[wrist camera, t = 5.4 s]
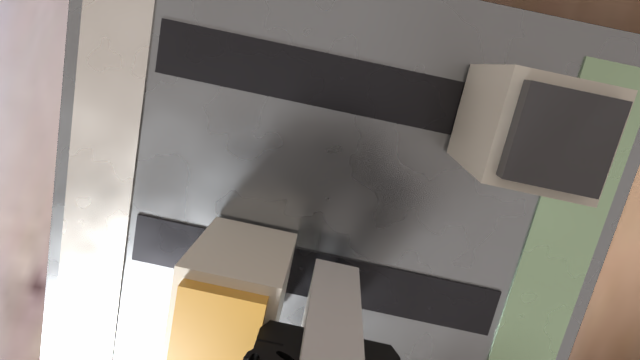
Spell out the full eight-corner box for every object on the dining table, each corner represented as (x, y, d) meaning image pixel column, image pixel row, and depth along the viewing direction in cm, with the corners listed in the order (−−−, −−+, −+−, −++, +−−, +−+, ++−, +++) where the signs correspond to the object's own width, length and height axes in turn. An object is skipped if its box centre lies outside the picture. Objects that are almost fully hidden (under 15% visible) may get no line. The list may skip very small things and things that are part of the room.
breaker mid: (203, 291, 19) (154, 371, 14) (216, 216, 18) (168, 273, 13) (282, 308, 19) (259, 394, 14) (297, 233, 18) (279, 297, 13)
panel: (52, 426, 22) (31, 452, 21) (98, -73, 18) (74, -86, 16) (487, 519, 22) (498, 553, 21) (655, 45, 18) (685, 43, 16)
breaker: (446, 152, 17) (486, 188, 12) (470, 64, 16) (522, 64, 11) (532, 170, 17) (606, 213, 12) (559, 83, 16) (650, 91, 11)
